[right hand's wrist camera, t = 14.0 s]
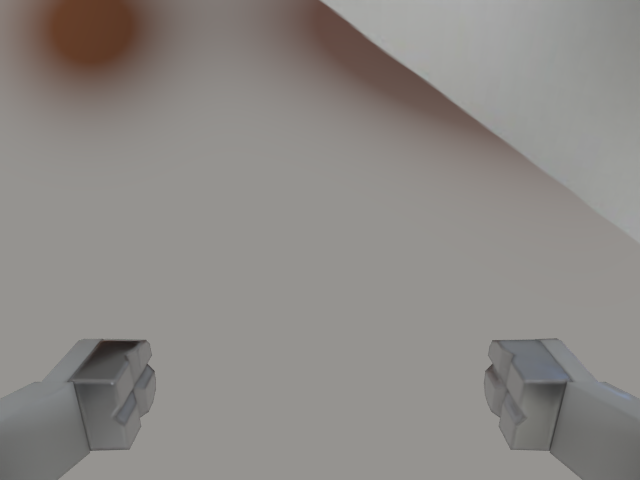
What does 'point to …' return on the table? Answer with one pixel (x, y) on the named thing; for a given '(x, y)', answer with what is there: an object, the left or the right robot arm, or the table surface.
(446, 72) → the table surface
